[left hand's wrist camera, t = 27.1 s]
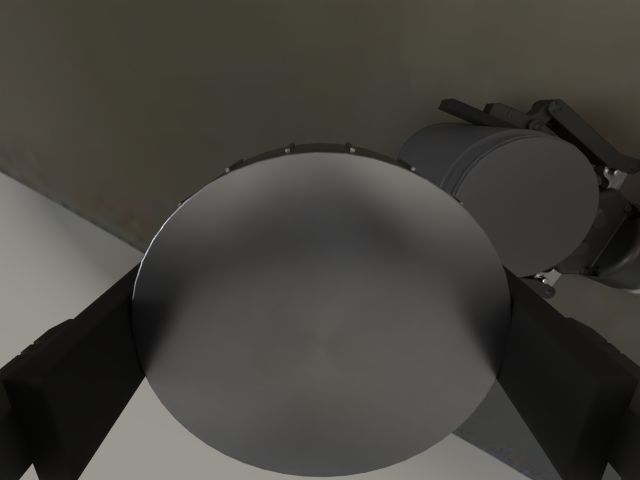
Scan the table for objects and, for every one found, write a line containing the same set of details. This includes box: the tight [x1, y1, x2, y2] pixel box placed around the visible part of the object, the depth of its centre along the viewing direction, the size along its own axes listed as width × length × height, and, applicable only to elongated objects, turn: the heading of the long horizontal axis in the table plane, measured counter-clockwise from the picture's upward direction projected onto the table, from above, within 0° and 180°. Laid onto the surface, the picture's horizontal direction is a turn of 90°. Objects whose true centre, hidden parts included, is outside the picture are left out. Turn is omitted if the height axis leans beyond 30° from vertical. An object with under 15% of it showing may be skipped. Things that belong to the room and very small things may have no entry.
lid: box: [132, 142, 511, 477], centre depth 11 cm, size 11×11×2 cm
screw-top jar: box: [397, 123, 599, 277], centre depth 29 cm, size 10×10×16 cm
